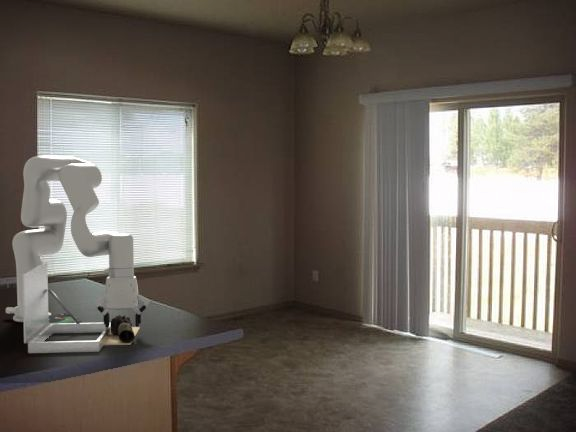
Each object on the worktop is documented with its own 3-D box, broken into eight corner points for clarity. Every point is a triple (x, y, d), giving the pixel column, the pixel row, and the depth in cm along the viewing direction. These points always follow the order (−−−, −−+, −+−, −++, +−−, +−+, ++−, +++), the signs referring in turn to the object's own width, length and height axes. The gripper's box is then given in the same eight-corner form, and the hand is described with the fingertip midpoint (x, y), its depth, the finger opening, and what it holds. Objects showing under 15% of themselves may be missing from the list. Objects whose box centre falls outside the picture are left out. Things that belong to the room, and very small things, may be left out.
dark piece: (135, 343, 190) (134, 324, 190) (112, 345, 188) (111, 326, 188) (131, 328, 207) (130, 311, 207) (110, 330, 205) (109, 313, 205)
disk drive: (35, 325, 216) (52, 332, 205) (35, 317, 216) (52, 324, 205) (64, 320, 223) (82, 327, 212) (64, 312, 223) (82, 319, 212)
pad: (103, 345, 189) (103, 343, 189) (115, 328, 209) (115, 327, 209) (130, 344, 190) (130, 343, 190) (139, 328, 209) (139, 326, 209)
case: (24, 353, 180) (22, 274, 179) (47, 332, 203) (45, 262, 202) (99, 351, 182) (97, 273, 181) (113, 331, 205) (112, 261, 204)
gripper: (90, 275, 193) (92, 329, 194) (147, 274, 195) (148, 328, 196) (96, 271, 201) (97, 324, 202) (150, 270, 202) (151, 322, 203)
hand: (122, 326), depth 199 cm, fingers open, 9 cm apart
